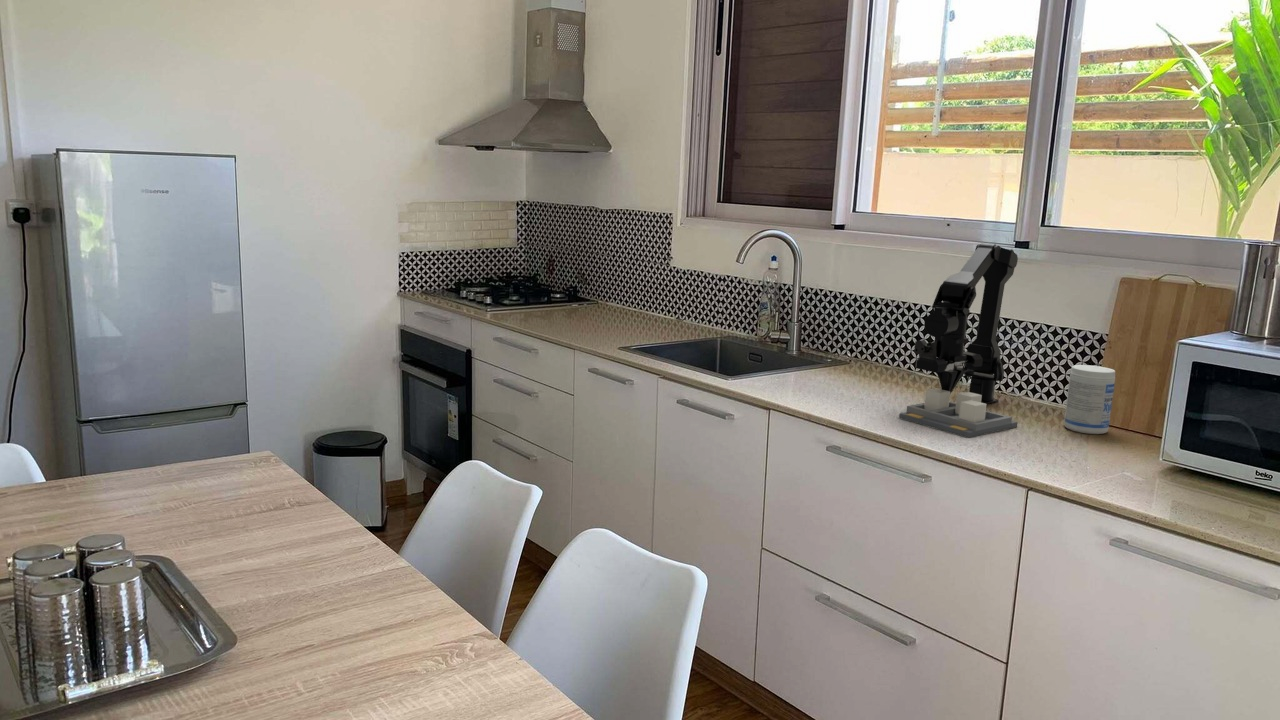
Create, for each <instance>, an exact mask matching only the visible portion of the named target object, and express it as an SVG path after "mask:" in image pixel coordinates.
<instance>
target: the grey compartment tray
mask: <svg viewBox="0 0 1280 720" xmlns="http://www.w3.org/2000/svg"><path fill="white" fill-rule="evenodd" d="M924 405H925V402H923V403H921V402H920V403H916V404H912V405H911V404H910V405H906V411H905V412H900V413H899V417H898V419H900V420H905V421H908V422H912V423H915V424H919V425H921V426H925V427H929V428H931V429H932V428H933V429H935V430H940V431H943V432H947V433H950V434H953V435H957V436H961V437H964V438H966V439H967V438H968V439H969V438H974V437H978V436H982V435H987V434H993V433H995V432H996V433H998V432H1000V431H1001V432H1002V431H1005V430H1010V429H1014V428H1017V427H1018V421H1015V420H1013V416H1008V415H1005V414H1002V413H997V412H993V411H989V410H986V414H985V421H981V422H976V423H974V422H970V421H967V420H963V419H959V415H958V414H955V408H956V402H953V401H950V400H949V407H948V408H943V409H938V410H932V411H929V410H925V409H924Z"/></svg>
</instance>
